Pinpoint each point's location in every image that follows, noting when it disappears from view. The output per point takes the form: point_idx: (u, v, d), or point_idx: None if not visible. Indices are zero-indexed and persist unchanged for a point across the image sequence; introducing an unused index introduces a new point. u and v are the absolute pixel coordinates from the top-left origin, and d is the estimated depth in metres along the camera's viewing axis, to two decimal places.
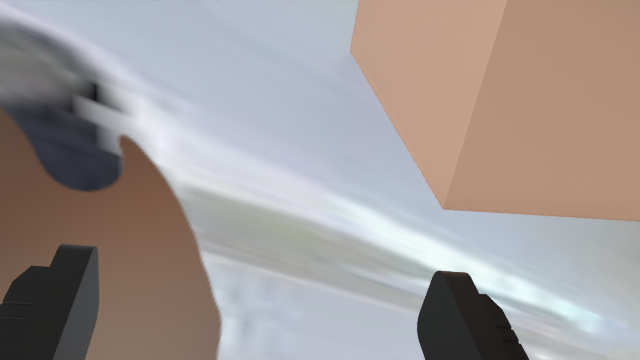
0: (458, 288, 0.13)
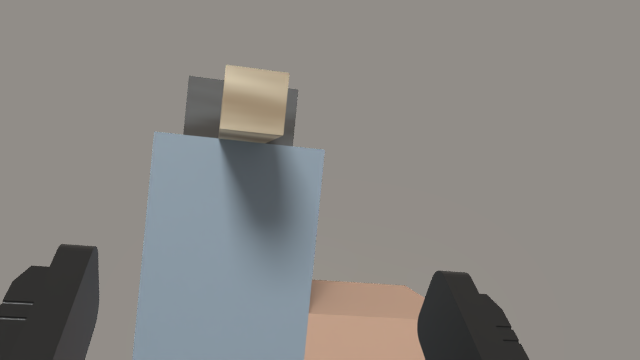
0: (458, 288, 0.13)
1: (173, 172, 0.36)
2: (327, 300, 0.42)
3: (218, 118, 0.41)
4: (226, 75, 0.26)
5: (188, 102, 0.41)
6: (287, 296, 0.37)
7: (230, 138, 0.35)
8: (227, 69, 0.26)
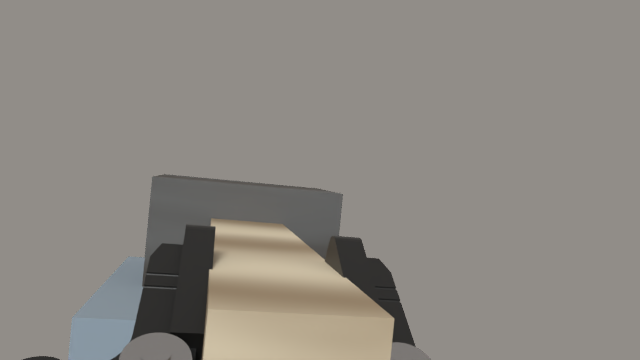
0: (346, 251, 0.13)
1: None
2: None
3: None
4: (209, 341, 0.09)
5: (151, 223, 0.23)
6: None
7: None
8: (212, 322, 0.09)
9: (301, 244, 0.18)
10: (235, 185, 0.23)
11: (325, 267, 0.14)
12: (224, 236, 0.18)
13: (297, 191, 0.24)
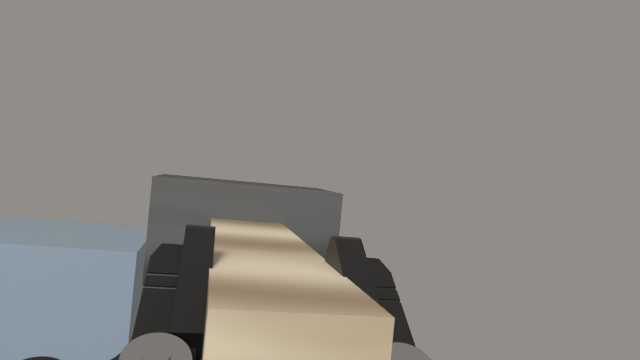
0: (346, 251, 0.13)
1: None
2: None
3: None
4: (209, 340, 0.09)
5: (151, 223, 0.23)
6: None
7: None
8: (212, 321, 0.09)
9: (301, 244, 0.18)
10: (235, 185, 0.23)
11: (325, 267, 0.14)
12: (224, 236, 0.18)
13: (297, 191, 0.24)
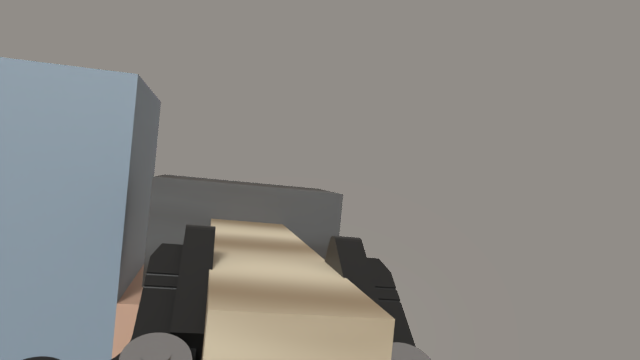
0: (346, 251, 0.13)
1: None
2: None
3: None
4: (209, 341, 0.09)
5: (151, 223, 0.23)
6: (85, 279, 0.27)
7: None
8: (212, 323, 0.09)
9: (301, 244, 0.18)
10: (235, 185, 0.23)
11: (325, 267, 0.14)
12: (224, 236, 0.18)
13: (297, 191, 0.24)
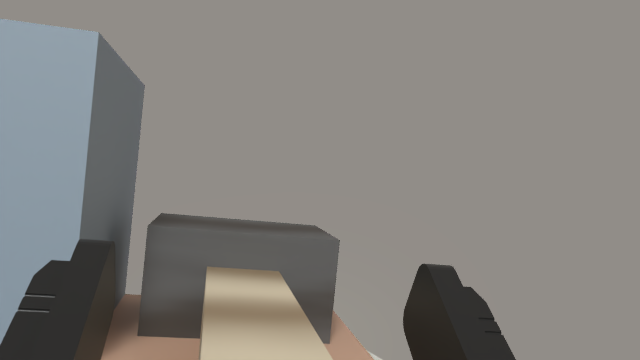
0: (442, 280, 0.13)
1: None
2: (150, 341, 0.22)
3: (200, 297, 0.23)
4: None
5: (146, 272, 0.23)
6: None
7: None
8: None
9: (296, 308, 0.17)
10: (231, 233, 0.23)
11: (318, 351, 0.13)
12: (218, 300, 0.18)
13: (294, 238, 0.24)
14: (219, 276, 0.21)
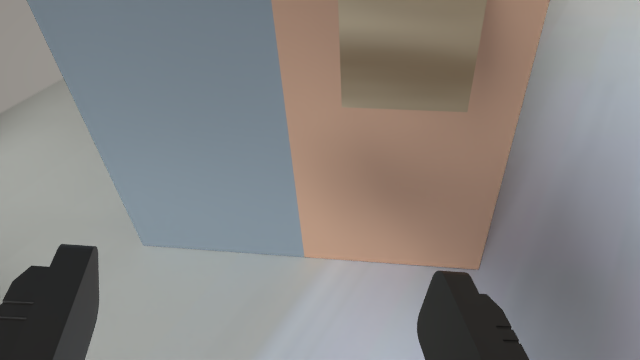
0: (458, 288, 0.13)
1: None
2: None
3: None
4: (341, 14, 0.12)
5: None
6: None
7: None
8: (342, 2, 0.12)
9: None
10: None
11: None
12: None
13: None
14: None
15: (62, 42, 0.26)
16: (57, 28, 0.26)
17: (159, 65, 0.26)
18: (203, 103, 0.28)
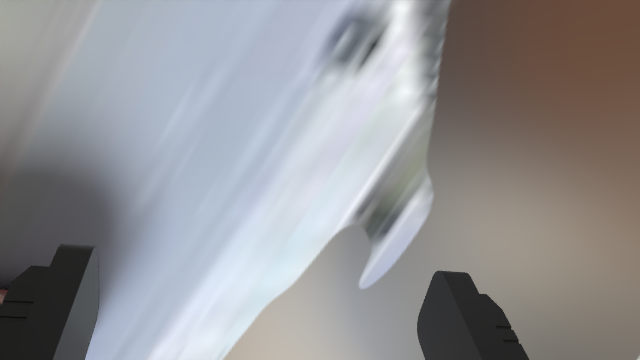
0: (458, 288, 0.13)
1: None
2: None
3: None
4: None
5: None
6: None
7: None
8: None
9: None
10: None
11: None
12: None
13: None
14: None
15: None
16: None
17: None
18: None
